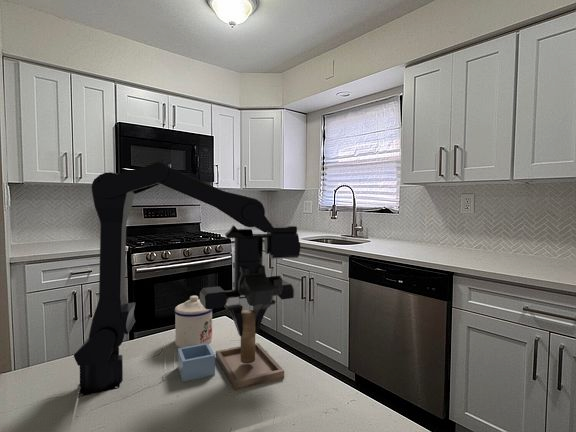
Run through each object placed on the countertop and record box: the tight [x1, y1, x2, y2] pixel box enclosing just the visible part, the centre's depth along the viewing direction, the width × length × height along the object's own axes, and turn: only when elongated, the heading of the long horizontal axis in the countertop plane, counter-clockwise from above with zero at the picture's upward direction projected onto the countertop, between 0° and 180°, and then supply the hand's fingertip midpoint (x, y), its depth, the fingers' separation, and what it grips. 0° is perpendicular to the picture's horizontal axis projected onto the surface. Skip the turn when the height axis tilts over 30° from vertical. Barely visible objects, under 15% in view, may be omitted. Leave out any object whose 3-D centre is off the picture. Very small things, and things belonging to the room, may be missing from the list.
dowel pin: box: [240, 309, 256, 363], centre depth 68 cm, size 3×3×10 cm
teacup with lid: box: [173, 295, 214, 348], centre depth 82 cm, size 12×9×12 cm
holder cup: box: [177, 343, 216, 383], centre depth 67 cm, size 6×6×4 cm
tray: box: [215, 342, 285, 391], centre depth 68 cm, size 10×14×2 cm
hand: (248, 334), depth 68 cm, fingers closed on dowel pin, 3 cm apart
